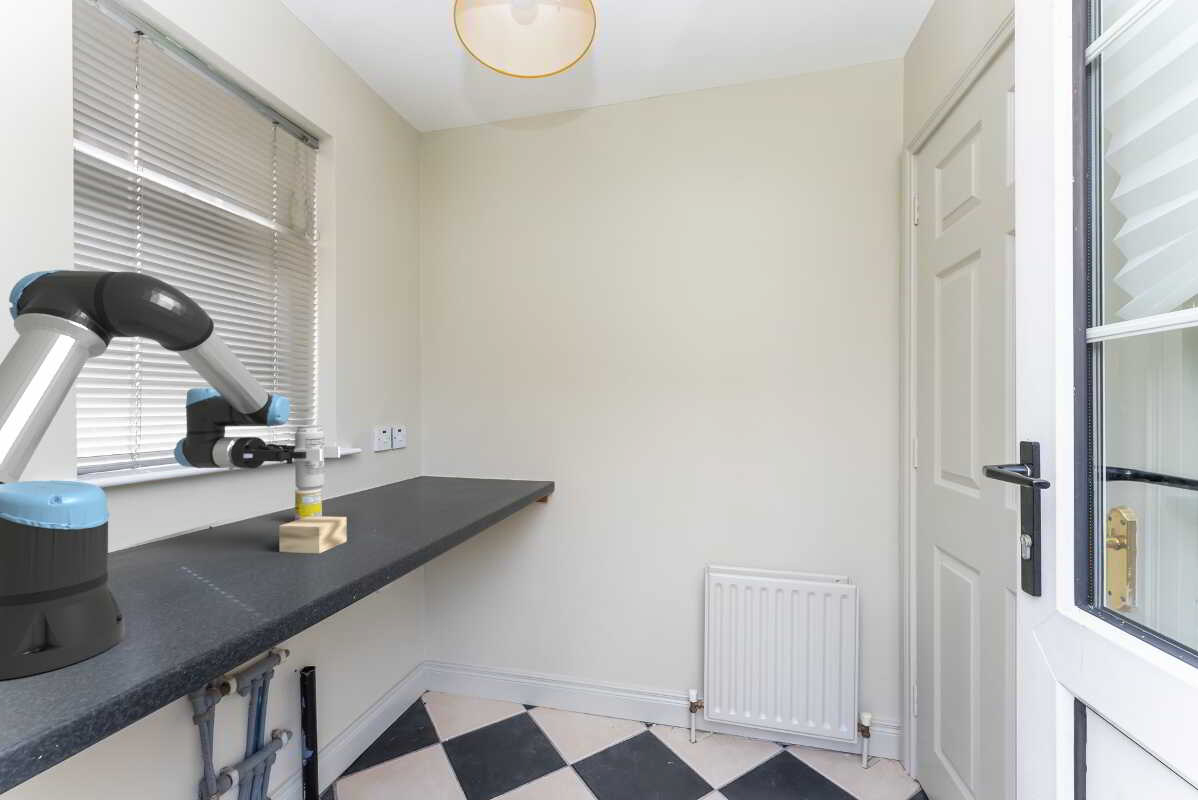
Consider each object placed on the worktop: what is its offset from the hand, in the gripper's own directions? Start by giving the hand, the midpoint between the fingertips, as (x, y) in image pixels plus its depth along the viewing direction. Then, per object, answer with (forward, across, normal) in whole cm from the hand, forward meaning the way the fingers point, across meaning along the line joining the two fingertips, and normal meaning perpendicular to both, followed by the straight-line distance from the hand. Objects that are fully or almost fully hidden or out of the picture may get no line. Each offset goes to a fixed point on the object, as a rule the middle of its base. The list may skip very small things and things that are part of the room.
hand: (330, 453), depth 122 cm
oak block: (-5, 0, -22) cm, 23 cm away
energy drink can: (-5, 0, -9) cm, 10 cm away
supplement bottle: (-23, -24, -22) cm, 40 cm away
